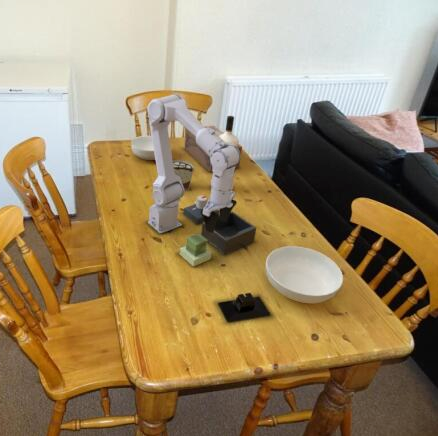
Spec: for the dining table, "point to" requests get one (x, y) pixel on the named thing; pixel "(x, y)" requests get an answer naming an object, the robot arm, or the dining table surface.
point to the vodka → (229, 137)
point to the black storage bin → (230, 234)
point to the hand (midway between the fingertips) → (216, 226)
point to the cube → (196, 244)
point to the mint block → (195, 259)
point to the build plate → (243, 308)
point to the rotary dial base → (195, 213)
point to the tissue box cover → (199, 152)
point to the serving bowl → (303, 274)
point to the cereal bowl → (143, 147)
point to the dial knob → (201, 202)
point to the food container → (183, 172)
